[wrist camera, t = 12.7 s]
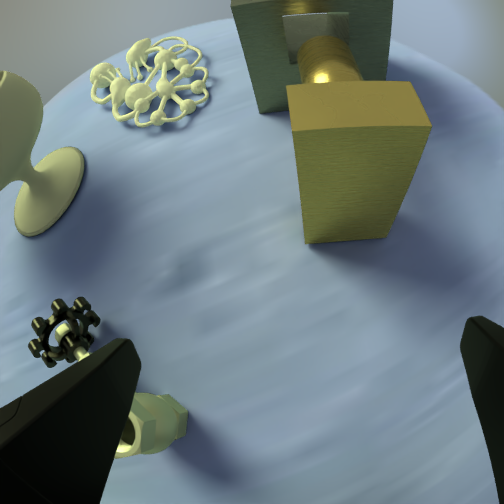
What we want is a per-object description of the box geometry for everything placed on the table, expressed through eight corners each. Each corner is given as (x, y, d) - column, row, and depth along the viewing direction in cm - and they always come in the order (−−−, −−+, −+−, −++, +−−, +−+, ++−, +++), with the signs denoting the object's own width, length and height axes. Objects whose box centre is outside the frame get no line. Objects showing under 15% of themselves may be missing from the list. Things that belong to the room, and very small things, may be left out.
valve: (214, 404, 20) (107, 306, 24) (174, 415, 14) (54, 284, 18) (164, 465, 19) (69, 363, 23) (115, 488, 13) (13, 354, 17)
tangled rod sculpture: (248, 93, 32) (243, 64, 28) (133, 162, 30) (117, 135, 26) (172, 43, 39) (165, 22, 35) (88, 92, 37) (77, 72, 33)
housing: (382, 105, 26) (393, -2, 15) (259, 113, 28) (230, 6, 17) (358, 51, 30) (357, -37, 19) (257, 58, 32) (234, -28, 21)
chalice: (102, 128, 33) (35, 40, 19) (80, 232, 28) (-31, 146, 14) (27, 162, 35) (-39, 100, 21) (3, 254, 30) (-88, 199, 16)
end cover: (386, 237, 22) (432, 126, 11) (305, 244, 23) (291, 131, 12) (359, 125, 26) (366, 11, 15) (293, 129, 27) (275, 15, 16)
